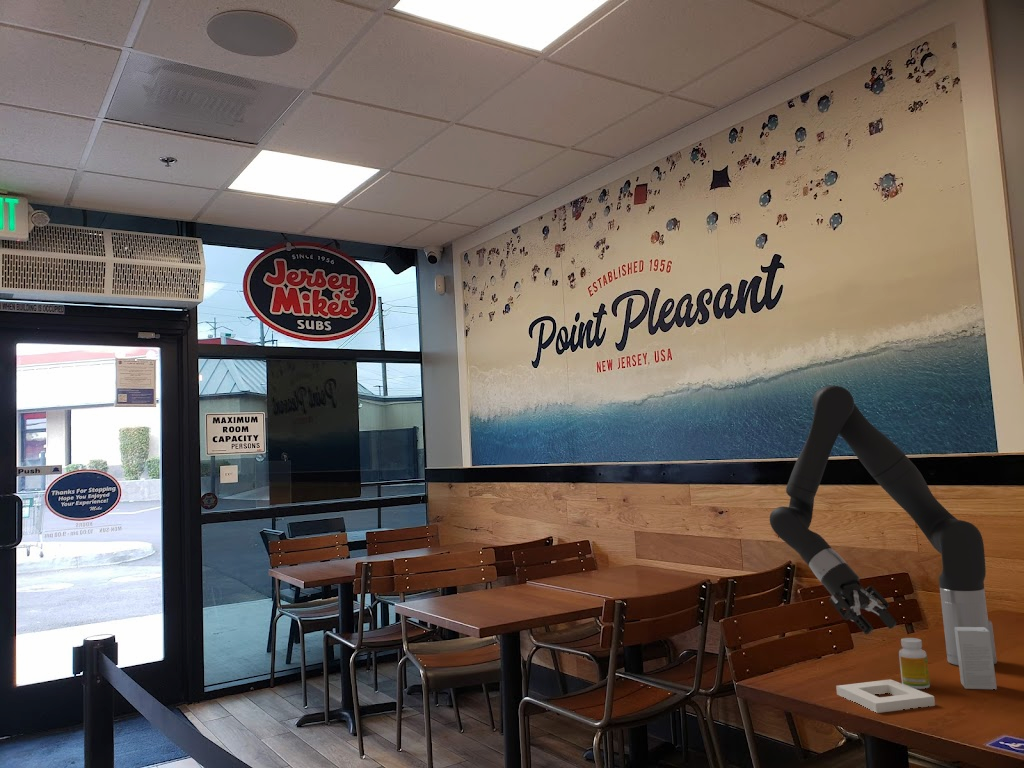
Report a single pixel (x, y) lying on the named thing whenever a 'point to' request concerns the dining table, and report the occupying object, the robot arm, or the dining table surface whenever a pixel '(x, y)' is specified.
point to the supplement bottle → (913, 664)
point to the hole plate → (901, 699)
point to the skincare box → (975, 658)
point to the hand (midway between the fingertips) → (882, 629)
